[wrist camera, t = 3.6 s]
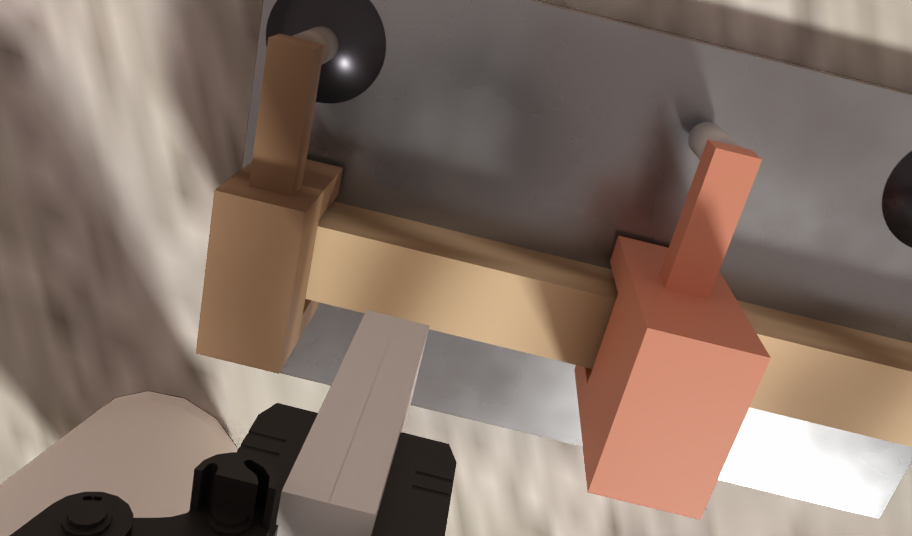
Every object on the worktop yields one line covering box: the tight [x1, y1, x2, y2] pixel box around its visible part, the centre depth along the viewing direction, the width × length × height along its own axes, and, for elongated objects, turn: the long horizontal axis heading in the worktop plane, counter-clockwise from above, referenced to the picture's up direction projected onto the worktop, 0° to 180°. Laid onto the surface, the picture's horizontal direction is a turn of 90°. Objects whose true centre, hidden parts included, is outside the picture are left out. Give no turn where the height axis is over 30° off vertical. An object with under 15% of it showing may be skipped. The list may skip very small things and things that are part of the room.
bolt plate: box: [242, 0, 912, 519], centre depth 26 cm, size 24×14×1 cm, turn 77°
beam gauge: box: [196, 26, 912, 447], centre depth 23 cm, size 23×9×5 cm, turn 77°
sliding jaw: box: [574, 122, 771, 520], centre depth 22 cm, size 3×9×6 cm, turn 167°
